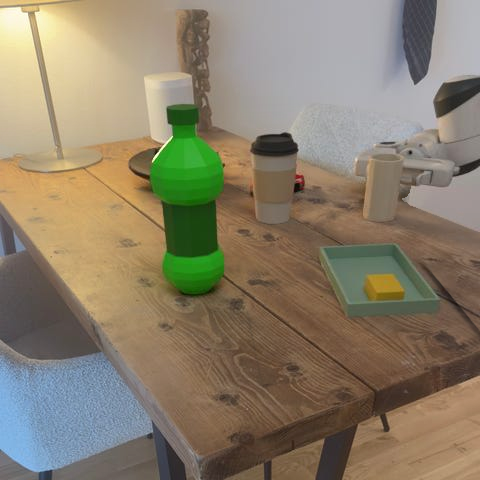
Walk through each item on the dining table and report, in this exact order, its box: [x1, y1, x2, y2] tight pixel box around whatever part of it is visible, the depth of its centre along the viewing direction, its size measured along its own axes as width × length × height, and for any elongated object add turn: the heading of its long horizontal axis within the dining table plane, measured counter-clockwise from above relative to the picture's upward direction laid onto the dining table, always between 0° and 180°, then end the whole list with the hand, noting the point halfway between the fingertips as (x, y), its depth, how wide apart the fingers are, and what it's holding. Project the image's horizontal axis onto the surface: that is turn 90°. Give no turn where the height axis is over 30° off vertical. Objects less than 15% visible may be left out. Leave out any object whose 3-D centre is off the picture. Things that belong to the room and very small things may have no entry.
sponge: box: [364, 274, 405, 301], centre depth 82 cm, size 6×4×2 cm, turn 4°
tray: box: [318, 242, 441, 318], centre depth 87 cm, size 21×13×3 cm, turn 4°
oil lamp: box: [127, 145, 226, 182], centre depth 130 cm, size 22×30×8 cm
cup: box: [362, 153, 404, 223], centre depth 109 cm, size 6×6×11 cm
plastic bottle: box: [149, 103, 226, 295], centre depth 81 cm, size 10×10×25 cm
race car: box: [249, 172, 306, 195], centre depth 125 cm, size 13×5×4 cm, turn 119°
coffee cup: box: [249, 131, 299, 225], centre depth 108 cm, size 9×9×15 cm
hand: (391, 178), depth 111 cm, fingers open, 8 cm apart
